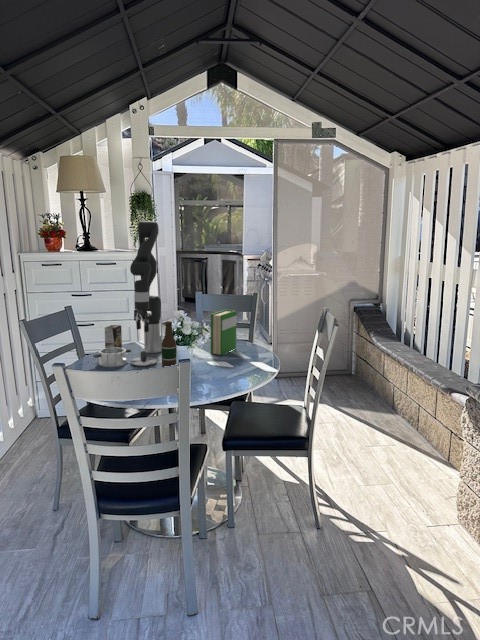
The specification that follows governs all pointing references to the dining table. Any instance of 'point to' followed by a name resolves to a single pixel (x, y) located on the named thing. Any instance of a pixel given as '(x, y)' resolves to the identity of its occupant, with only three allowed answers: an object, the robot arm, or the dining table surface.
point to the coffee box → (113, 336)
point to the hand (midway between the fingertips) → (142, 330)
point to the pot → (112, 356)
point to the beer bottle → (169, 347)
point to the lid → (143, 360)
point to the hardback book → (223, 331)
